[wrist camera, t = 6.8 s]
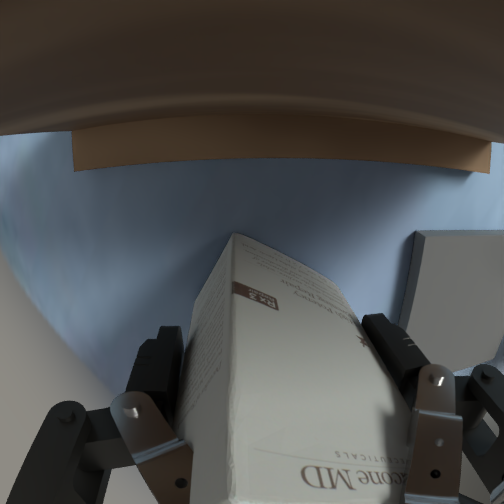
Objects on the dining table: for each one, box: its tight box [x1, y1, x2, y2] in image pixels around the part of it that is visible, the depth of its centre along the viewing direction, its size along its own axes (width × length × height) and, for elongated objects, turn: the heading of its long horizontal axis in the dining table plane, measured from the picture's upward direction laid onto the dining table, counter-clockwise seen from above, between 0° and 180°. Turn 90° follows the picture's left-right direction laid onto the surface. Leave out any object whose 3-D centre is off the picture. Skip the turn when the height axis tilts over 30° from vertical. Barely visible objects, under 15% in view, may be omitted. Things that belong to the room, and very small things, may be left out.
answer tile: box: [398, 230, 504, 372], centre depth 17 cm, size 10×10×1 cm
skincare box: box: [172, 233, 411, 504], centre depth 10 cm, size 6×4×12 cm
